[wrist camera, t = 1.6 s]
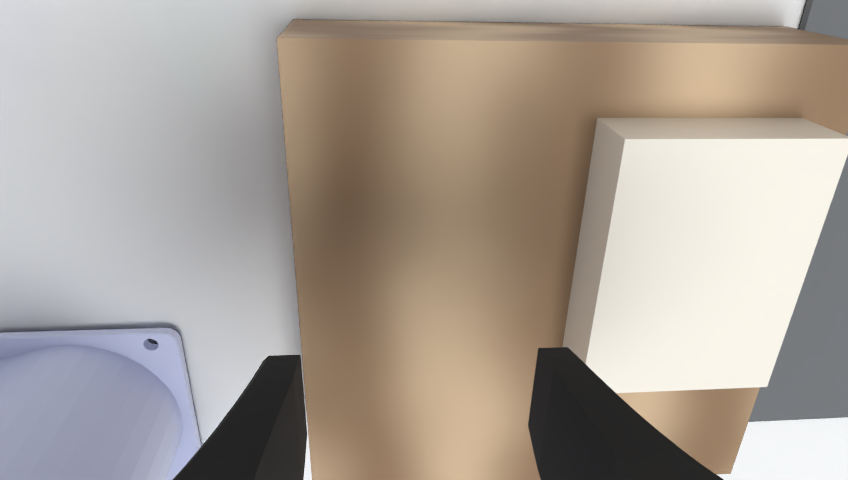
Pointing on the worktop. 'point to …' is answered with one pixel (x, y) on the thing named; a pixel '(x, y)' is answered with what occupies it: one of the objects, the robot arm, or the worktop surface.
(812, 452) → the worktop surface
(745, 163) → the cream flat block
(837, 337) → the mat
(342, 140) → the butcher block
